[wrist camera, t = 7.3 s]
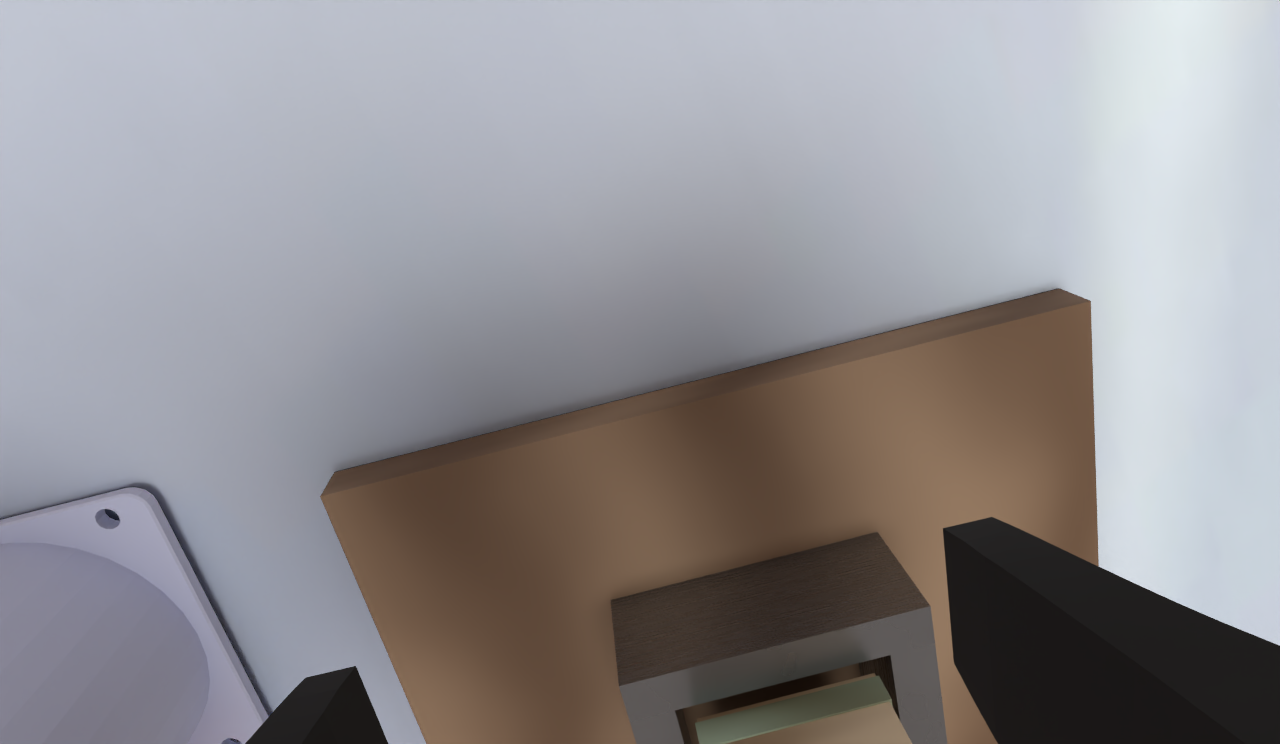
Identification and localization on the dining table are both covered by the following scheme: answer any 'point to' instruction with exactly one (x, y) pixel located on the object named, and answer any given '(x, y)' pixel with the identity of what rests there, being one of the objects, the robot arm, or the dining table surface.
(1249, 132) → the dining table surface
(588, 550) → the board
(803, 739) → the post
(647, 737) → the sleeve
